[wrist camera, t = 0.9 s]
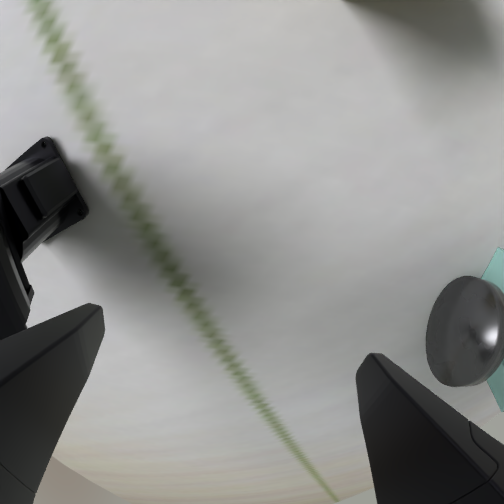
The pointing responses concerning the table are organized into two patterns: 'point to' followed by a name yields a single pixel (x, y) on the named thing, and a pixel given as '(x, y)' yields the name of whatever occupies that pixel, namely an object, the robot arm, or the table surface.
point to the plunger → (466, 332)
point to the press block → (500, 273)
